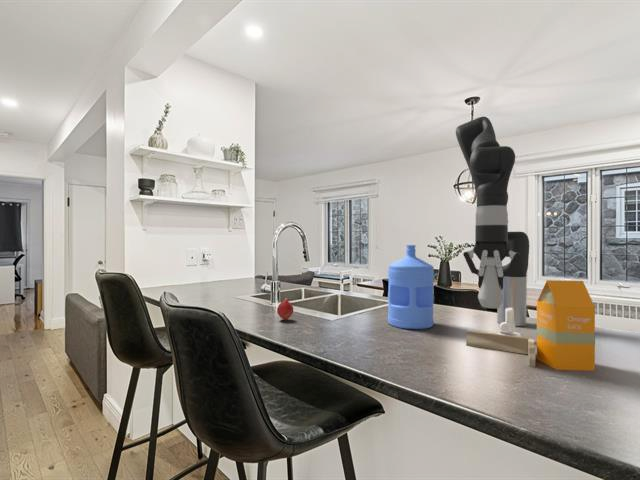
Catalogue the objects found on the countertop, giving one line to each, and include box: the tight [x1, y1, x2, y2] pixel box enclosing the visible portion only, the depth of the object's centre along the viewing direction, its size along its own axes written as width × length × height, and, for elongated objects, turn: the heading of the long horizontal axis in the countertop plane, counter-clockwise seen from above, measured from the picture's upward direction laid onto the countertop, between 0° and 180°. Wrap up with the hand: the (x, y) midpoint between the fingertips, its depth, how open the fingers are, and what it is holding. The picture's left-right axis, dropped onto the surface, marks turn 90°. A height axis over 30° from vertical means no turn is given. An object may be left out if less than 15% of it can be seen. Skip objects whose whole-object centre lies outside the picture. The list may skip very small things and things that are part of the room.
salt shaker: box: [477, 257, 503, 309], centre depth 90 cm, size 6×6×13 cm
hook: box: [497, 308, 524, 337], centre depth 105 cm, size 8×12×7 cm
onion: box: [276, 298, 294, 321], centre depth 128 cm, size 6×6×8 cm
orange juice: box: [536, 279, 596, 371], centre depth 84 cm, size 8×9×20 cm
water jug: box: [387, 244, 435, 330], centre depth 124 cm, size 16×16×28 cm
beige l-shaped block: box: [465, 329, 536, 368], centre depth 91 cm, size 12×16×4 cm
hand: (490, 290), depth 90 cm, fingers closed on salt shaker, 3 cm apart
